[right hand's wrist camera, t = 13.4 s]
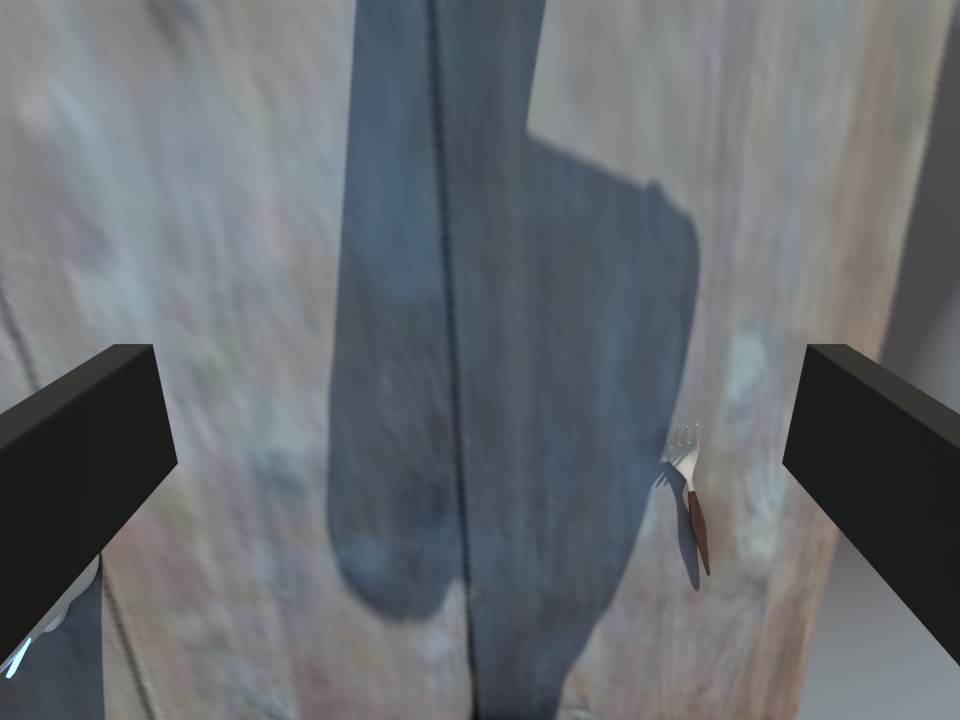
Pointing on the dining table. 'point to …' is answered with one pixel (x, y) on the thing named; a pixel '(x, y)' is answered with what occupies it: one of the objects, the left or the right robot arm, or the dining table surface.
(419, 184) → the dining table surface
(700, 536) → the fork
